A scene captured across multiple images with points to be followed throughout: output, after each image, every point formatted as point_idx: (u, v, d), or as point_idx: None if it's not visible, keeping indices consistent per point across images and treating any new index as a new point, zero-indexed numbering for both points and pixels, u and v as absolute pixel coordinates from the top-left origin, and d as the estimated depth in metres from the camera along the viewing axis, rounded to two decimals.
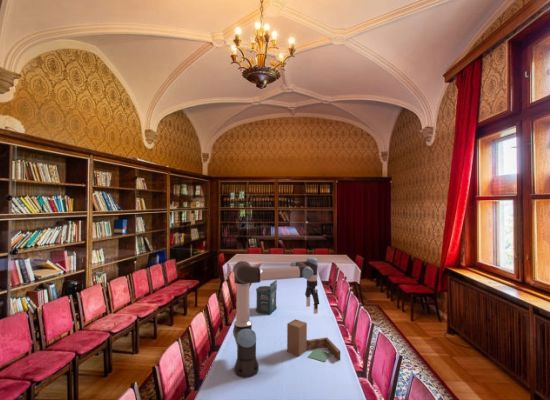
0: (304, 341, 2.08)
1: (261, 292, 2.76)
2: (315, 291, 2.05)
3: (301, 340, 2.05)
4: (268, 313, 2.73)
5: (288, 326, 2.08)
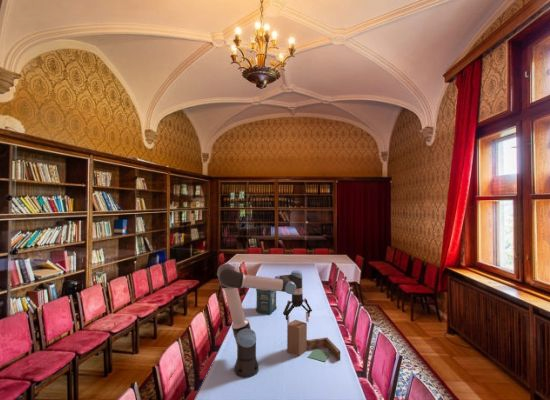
0: (304, 342, 2.08)
1: (261, 292, 2.76)
2: (287, 302, 2.07)
3: (301, 340, 2.05)
4: (268, 313, 2.73)
5: (288, 326, 2.08)
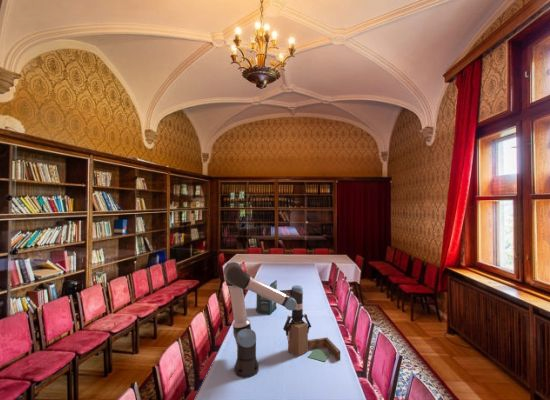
0: (305, 342, 2.07)
1: None
2: (287, 318, 2.08)
3: (301, 340, 2.04)
4: (268, 313, 2.73)
5: None
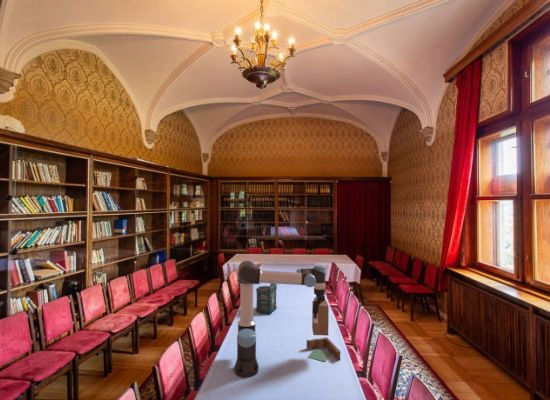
0: None
1: (261, 292, 2.76)
2: (315, 300, 1.98)
3: None
4: (268, 313, 2.73)
5: None
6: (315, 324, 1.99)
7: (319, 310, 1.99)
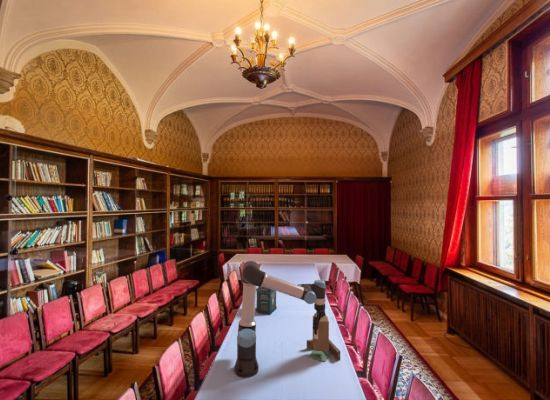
0: None
1: (261, 292, 2.76)
2: (315, 315, 1.98)
3: None
4: (268, 313, 2.73)
5: None
6: (315, 340, 1.99)
7: (319, 326, 1.99)
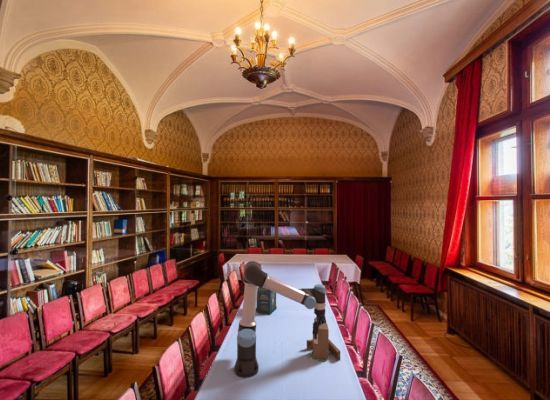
0: None
1: (261, 292, 2.76)
2: (315, 320, 1.98)
3: None
4: (268, 313, 2.73)
5: None
6: (315, 347, 1.99)
7: (319, 333, 1.99)
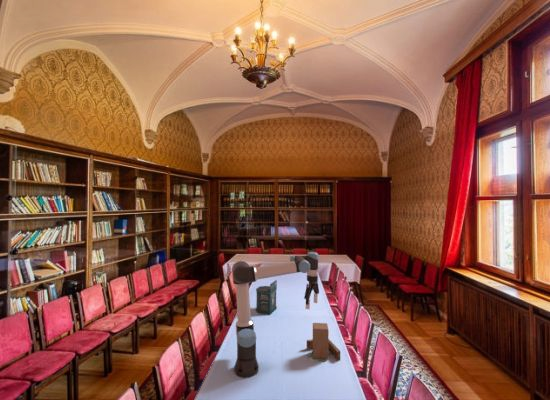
0: None
1: (261, 292, 2.76)
2: (307, 286, 2.00)
3: None
4: (268, 313, 2.73)
5: (315, 331, 1.99)
6: (315, 347, 1.99)
7: (319, 333, 1.99)
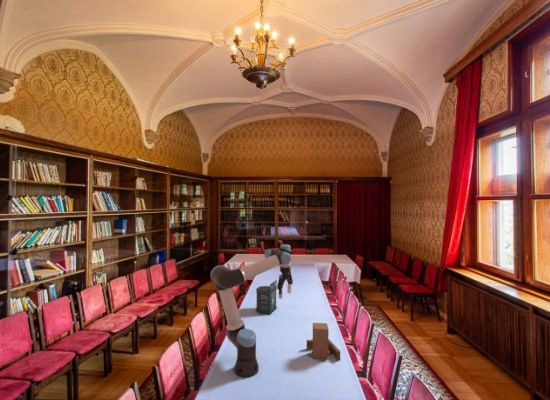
0: None
1: (261, 292, 2.76)
2: (280, 276, 2.10)
3: None
4: (268, 313, 2.73)
5: (315, 331, 1.99)
6: (315, 347, 1.99)
7: (319, 333, 1.99)
